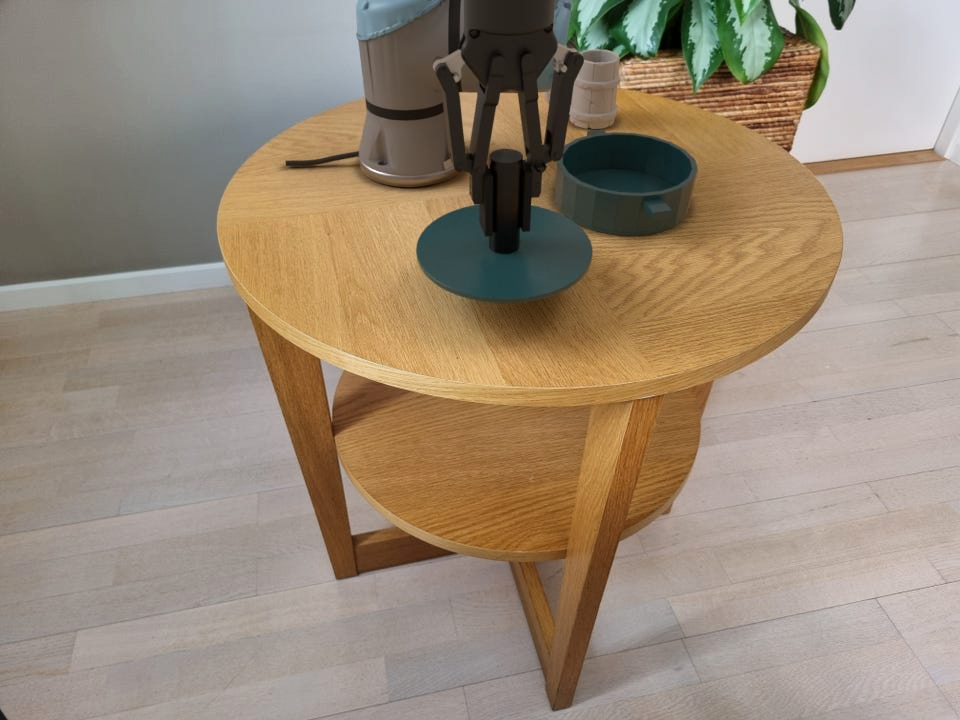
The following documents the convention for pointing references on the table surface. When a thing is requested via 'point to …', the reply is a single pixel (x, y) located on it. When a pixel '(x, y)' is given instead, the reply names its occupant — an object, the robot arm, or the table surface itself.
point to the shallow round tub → (624, 183)
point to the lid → (504, 246)
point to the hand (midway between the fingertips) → (504, 226)
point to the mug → (595, 90)
